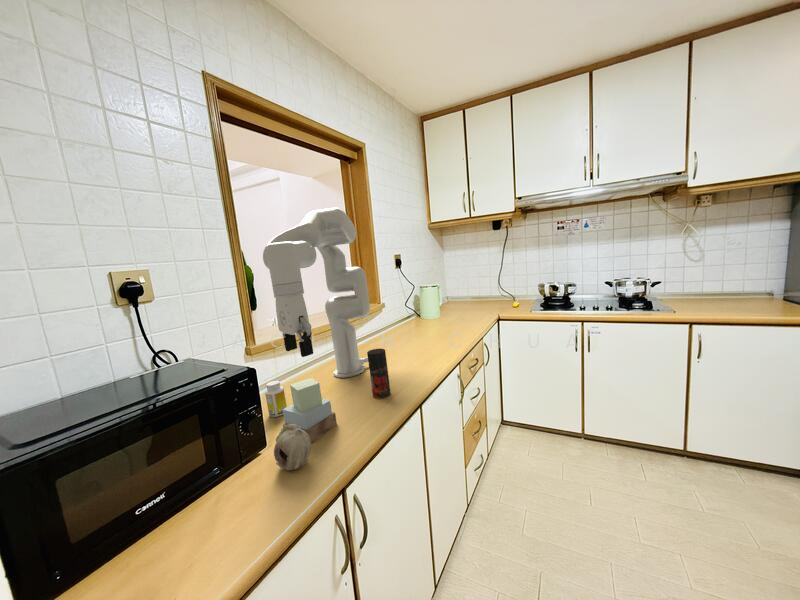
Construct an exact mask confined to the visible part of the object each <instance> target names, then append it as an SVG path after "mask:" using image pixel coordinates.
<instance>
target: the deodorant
mask: <svg viewBox="0 0 800 600" xmlns="http://www.w3.org/2000/svg"><path fill="white" fill-rule="evenodd" d="M386 353H387V352H386V349H384V348H373V349H370V350H368V351H367V352H366V354H367V357H368V362H367V363H368V368H369V375H370V383H371V384H370V385H371V391H372V392H371V393H372V397H373V398H374V399H376V398H377V400H378V399H379V400H380V399H381V398H382V399H386V398H388V397H390V396H391V395H390V394H391V392H392V391H391V386H390V385H391V384H390V379H389V378H390V376H389V370H388V369H389V368H388V361H387V354H386ZM389 395H390V396H389ZM385 397H386V398H385Z"/></svg>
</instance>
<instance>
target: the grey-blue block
mask: <svg viewBox="0 0 800 600" xmlns="http://www.w3.org/2000/svg"><path fill="white" fill-rule="evenodd" d="M332 412H333V411H332V406H331V400H330V399H325V398H322V404H321V405H318V406H316V407H313V408H310V409H308V410H305V411H303V412H301V411H299V410H298V409H297V408H296V407H295V406H294V405H293V403H292V404H290V405H287V407H286V408H284V409H283V415H282V416H283V420H284V424H285V423H286V424H297V425H298V426H300V428H301V429H305V430H307V429H309V428H311V427H312V426H314V425H315V424H317V423H319V422H320V421H322V420H323V419H325V418H326V417H328V416H330V415H331V414H332Z"/></svg>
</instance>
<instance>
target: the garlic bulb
mask: <svg viewBox="0 0 800 600" xmlns="http://www.w3.org/2000/svg"><path fill="white" fill-rule="evenodd" d="M311 449H312V444H311V439H310V437H309V435H308V434H307V433H306V432H305V431H304V430H302V429H301V428H300V426H298V425H297V424H288V425H285V426H284V427H283V426H282V428H281V429H280V431H279V434H278V435H277V437H276V438H275V445H274V449H273V456H274V460H275V461H276V465H277V466H278V467H280V469H281V468H282V469H284V470H286V471H287V472H288V471H289V472H290V471H292V470H297V469H299V468H301V467H303V466H304V465H305V464H306V463H307V461H308V459H309V456H310V454H311Z"/></svg>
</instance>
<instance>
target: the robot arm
mask: <svg viewBox="0 0 800 600" xmlns="http://www.w3.org/2000/svg"><path fill="white" fill-rule="evenodd" d="M356 237H357V230H356V227H355V225H354V223H353V222H352V220H351V219H350V218H349V216H348V214H347V213H346V212H345V211H344V210H343V209H341V208H339V207H332V208H331V207H330V208H324V209H316V210H312V211H309V212H308V213H307V214H305V217H304V218H302V220H301V222H299V224H298V225H296V226H294V227H292V228H289V229H288V230H285V231H283V232H281V233H279V234H278V235H275V236H274V237H273V238H271V239H270V241H268V243H267V244H266V245H265V247H264V249H263V252H262V260H263V263H264V265H265V267H266V268H267V269H268V270H269V275H270V279H271V280H270V281H271V287H272V291H273V292H272V293H273V296H274V298H275V310H276V311H275V312H276V318H277V325H278V327H277V328H278V331H279V332H280V333H282V337H283V341H284V342H283V344H284V347H285V351H286V352H289V351H294V350H297V349H298V345H299V350H300V351H299V352H300V356H301V357H302V358H304V357H308V356H311V355H314V348H313V342H312V340H313V339H312V335H313V333H312V324H311V323H310V319H309V314H308V309H307V305H306V301H305V297H304V294H305V290H304V289H305V288H304V286H303V279H302V278H303V277H302V272H301V269H307V268H310V267H312V266H313V265H314V264H315V263H316V260H317V251H316V248H317V249H318V251H319V253H320V254H321V257H322V259H323V260H322V261H323V265H324V266H323V267H324V272H325V282H326V288H327V290H328V291H329V292H330V293H332V294H340V293H349V292H355V294H350V295H339V296H338V295H337V296H333V297H330V298H328V299H327V300H326V302H325V304H324V308H325V313H326V317H327V319H328V323H329V325H330V331H331V338H332V345H333V353H334V359H335V367H336V369H335V370H334V371H333V376H334V377H336V378H340V379H341V378H351V377H355V376H359V375H360V373H361V374H362V373H364V371H365V370H366V369H365V366H364V364H365V363H368V356H367V357H360V356H359V348H358V340H357V334H356V332H357V331H356V328H355V327H354V325H353V323H351V321H350V320H353V319H362V318H363V319H364V318H367V317H368V316H369V314H370V311H371V306H370V297H369V296H370V295H369V289H368V288H369V286H368V279H367V276H366V275H367V274H366V272H365V270H364V269H363V268H362V267H361V266H352V267H351V266H350V267H347V262H346V255H345V253H344V252H343V251H342V250H341V249H340V248H339V247H338V246H339V245H347V244H352V243H354V242H355V240H356ZM296 335H297V337H298V339H299V342H298V344H297V338H296Z"/></svg>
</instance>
